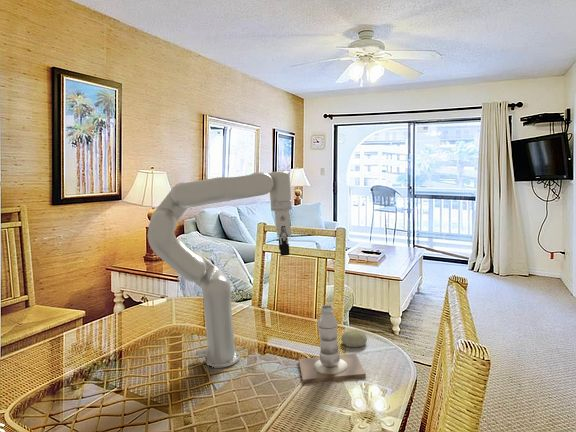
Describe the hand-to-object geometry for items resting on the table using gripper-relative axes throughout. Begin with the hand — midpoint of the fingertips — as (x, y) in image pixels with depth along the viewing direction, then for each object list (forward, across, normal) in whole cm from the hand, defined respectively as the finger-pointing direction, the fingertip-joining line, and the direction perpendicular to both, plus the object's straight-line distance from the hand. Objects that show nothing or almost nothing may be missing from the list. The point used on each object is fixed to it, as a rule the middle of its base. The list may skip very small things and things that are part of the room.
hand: (284, 252), depth 153 cm
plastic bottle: (+35, -20, -12) cm, 42 cm away
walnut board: (+36, -20, -12) cm, 43 cm away
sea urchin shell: (+37, -2, -24) cm, 44 cm away
